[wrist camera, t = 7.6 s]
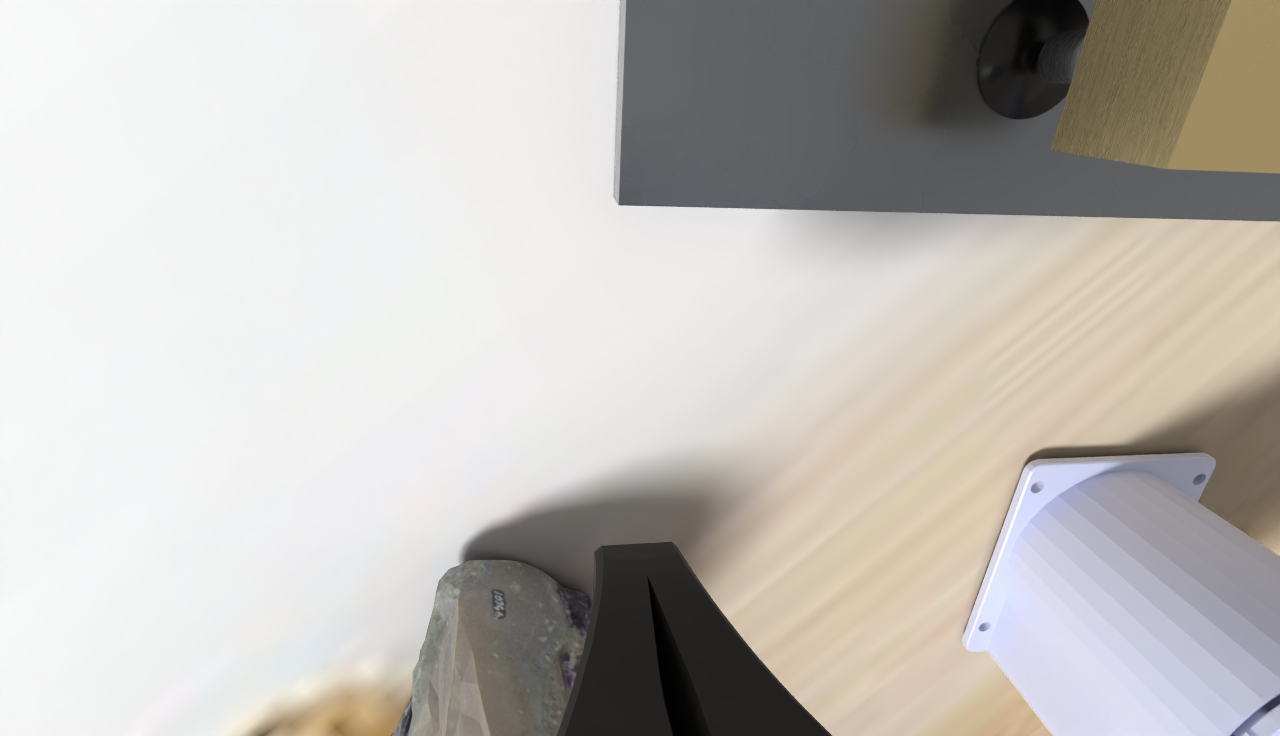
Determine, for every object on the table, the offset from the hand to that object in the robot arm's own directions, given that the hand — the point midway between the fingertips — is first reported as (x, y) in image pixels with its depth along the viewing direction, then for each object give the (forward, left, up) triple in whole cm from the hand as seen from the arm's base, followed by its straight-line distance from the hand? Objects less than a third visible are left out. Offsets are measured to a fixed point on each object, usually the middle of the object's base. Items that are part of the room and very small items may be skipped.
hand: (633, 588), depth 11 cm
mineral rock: (-13, +5, -10) cm, 17 cm away
